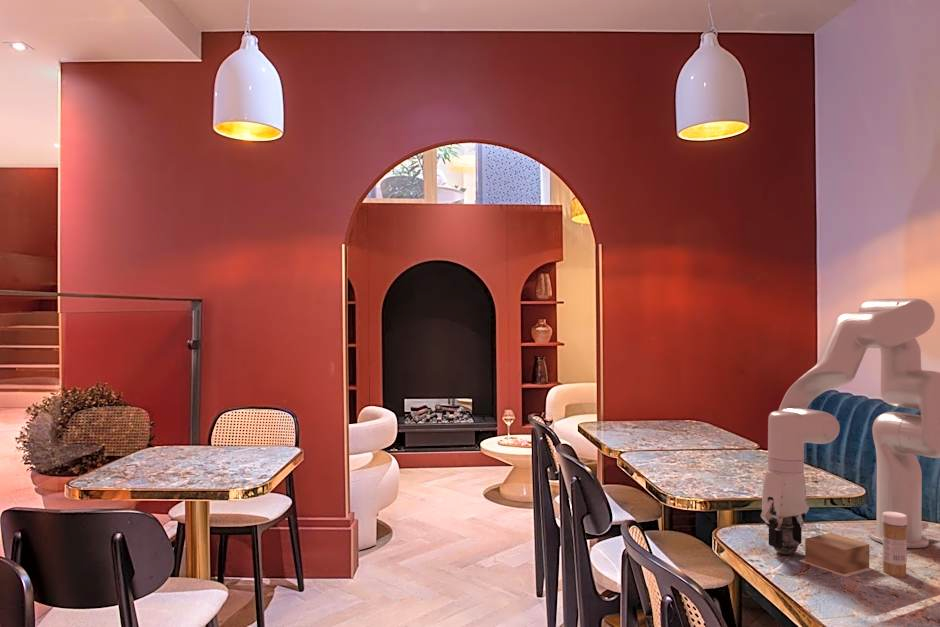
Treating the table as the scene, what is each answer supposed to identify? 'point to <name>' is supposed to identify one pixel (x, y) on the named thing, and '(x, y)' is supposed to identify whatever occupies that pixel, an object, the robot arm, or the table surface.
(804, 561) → the grey flat slab
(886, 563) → the sprinkles bottle
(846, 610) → the table surface
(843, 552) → the walnut block
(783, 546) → the dark grey chess piece
